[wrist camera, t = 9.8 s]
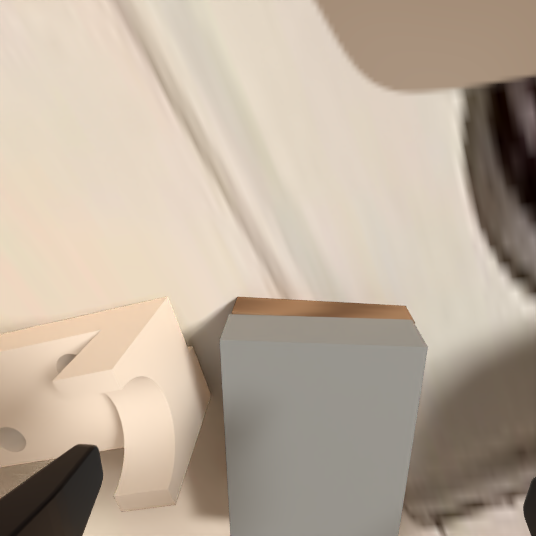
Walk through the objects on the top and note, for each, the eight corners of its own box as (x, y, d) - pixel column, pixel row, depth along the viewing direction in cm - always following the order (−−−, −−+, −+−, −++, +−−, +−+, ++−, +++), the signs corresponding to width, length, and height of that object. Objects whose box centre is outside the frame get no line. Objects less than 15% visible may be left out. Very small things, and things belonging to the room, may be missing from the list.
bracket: (173, 289, 22) (112, 369, 15) (212, 392, 24) (175, 504, 17) (-24, 334, 24) (-159, 423, 17) (29, 425, 26) (-71, 537, 19)
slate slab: (412, 319, 19) (427, 347, 17) (384, 524, 24) (393, 567, 22) (229, 314, 20) (219, 340, 17) (238, 514, 25) (231, 555, 22)
